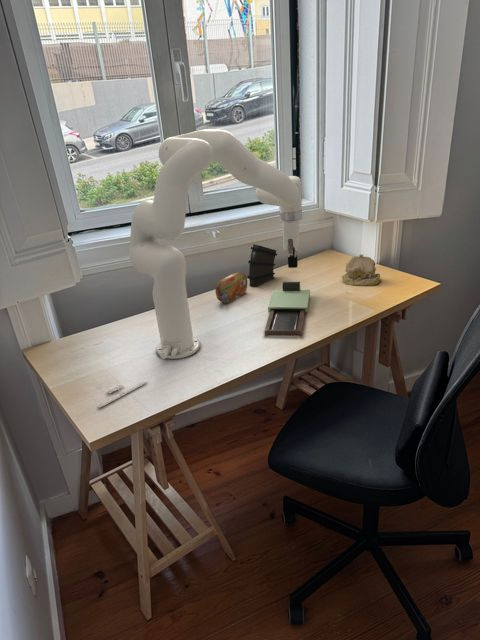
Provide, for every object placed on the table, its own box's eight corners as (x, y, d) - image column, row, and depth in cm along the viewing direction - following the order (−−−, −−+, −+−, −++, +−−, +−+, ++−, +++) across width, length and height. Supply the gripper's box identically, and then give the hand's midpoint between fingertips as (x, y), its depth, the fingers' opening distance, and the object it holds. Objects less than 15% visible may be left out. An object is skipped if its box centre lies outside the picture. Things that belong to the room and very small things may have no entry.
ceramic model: (339, 284, 186) (339, 258, 181) (345, 273, 195) (346, 248, 190) (377, 287, 181) (378, 260, 176) (382, 276, 190) (383, 250, 185)
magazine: (242, 283, 188) (251, 243, 185) (264, 287, 198) (273, 250, 195) (249, 285, 186) (259, 245, 183) (271, 289, 196) (281, 251, 193)
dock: (301, 338, 150) (300, 330, 149) (264, 337, 152) (264, 330, 151) (307, 298, 176) (307, 291, 175) (276, 298, 178) (276, 291, 177)
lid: (307, 312, 162) (306, 298, 160) (268, 312, 164) (267, 298, 162) (309, 294, 175) (309, 281, 173) (273, 294, 177) (273, 281, 175)
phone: (295, 333, 151) (294, 331, 151) (271, 333, 152) (271, 331, 152) (298, 314, 163) (298, 311, 163) (276, 314, 164) (276, 311, 164)
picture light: (99, 408, 124) (98, 401, 123) (90, 402, 127) (88, 395, 126) (145, 384, 133) (144, 377, 132) (136, 378, 135) (134, 372, 134)
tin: (222, 306, 174) (219, 283, 170) (215, 304, 176) (212, 282, 172) (248, 291, 185) (247, 270, 180) (242, 290, 186) (240, 268, 182)
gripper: (282, 209, 175) (284, 259, 184) (277, 221, 162) (280, 274, 171) (303, 209, 174) (305, 259, 183) (300, 221, 161) (302, 274, 170)
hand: (292, 266), depth 177 cm, fingers closed
